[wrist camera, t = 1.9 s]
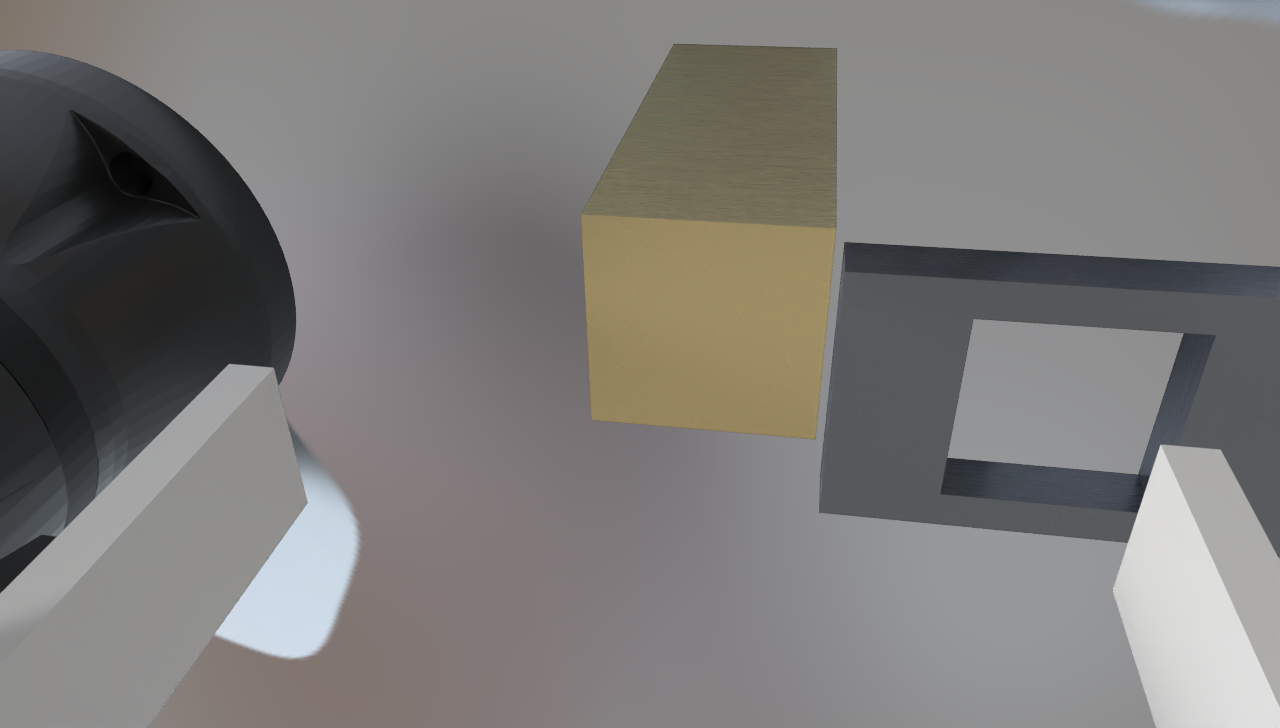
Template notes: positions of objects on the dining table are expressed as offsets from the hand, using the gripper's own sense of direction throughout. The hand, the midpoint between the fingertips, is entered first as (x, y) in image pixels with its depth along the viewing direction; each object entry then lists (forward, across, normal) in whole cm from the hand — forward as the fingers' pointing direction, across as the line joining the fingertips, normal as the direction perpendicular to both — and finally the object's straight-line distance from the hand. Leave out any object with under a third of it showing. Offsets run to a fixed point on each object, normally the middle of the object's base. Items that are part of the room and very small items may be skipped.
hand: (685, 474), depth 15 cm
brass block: (+16, 0, 0) cm, 16 cm away
